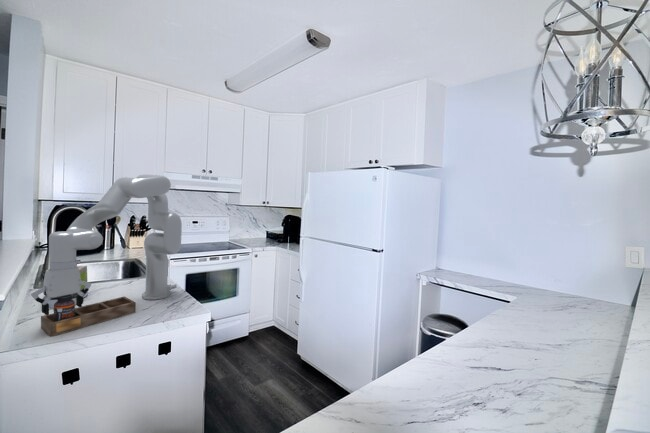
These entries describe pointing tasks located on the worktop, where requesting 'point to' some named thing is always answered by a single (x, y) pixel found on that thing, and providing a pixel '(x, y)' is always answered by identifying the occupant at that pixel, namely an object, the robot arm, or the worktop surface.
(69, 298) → the supplement bottle
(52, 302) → the tea box
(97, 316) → the wooden compartment tray
